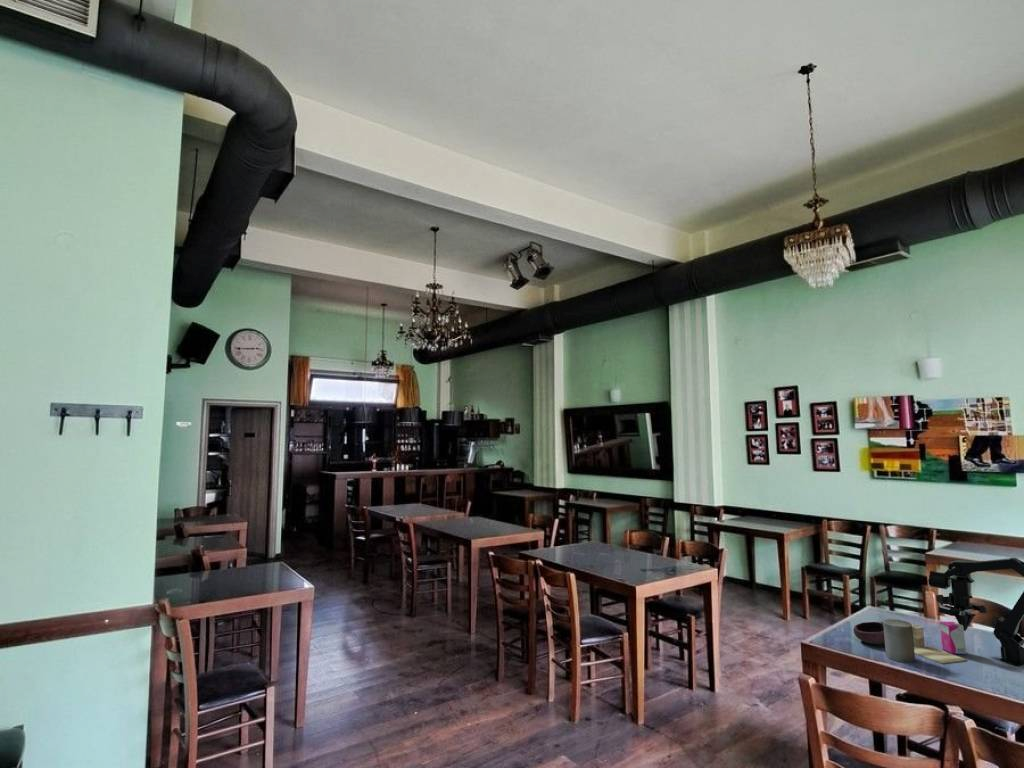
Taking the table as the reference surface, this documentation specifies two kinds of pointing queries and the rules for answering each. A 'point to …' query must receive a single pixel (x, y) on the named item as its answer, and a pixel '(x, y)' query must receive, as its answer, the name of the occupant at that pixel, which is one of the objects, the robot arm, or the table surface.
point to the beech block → (918, 636)
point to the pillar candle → (899, 640)
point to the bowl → (870, 632)
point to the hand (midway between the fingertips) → (963, 630)
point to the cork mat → (937, 655)
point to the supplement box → (953, 638)
